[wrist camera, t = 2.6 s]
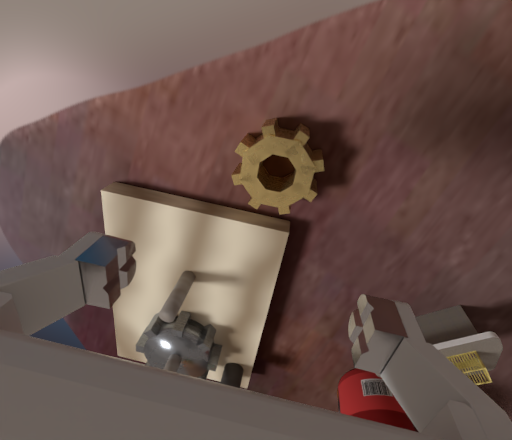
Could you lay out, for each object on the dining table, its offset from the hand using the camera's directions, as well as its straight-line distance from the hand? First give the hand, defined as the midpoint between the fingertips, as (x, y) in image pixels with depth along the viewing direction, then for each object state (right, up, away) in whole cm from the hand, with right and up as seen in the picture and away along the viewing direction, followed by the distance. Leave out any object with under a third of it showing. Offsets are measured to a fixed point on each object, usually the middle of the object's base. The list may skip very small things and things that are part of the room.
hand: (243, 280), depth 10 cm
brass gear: (+2, +7, +13) cm, 14 cm away
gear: (-7, -11, +21) cm, 25 cm away
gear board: (-6, -6, +21) cm, 22 cm away
